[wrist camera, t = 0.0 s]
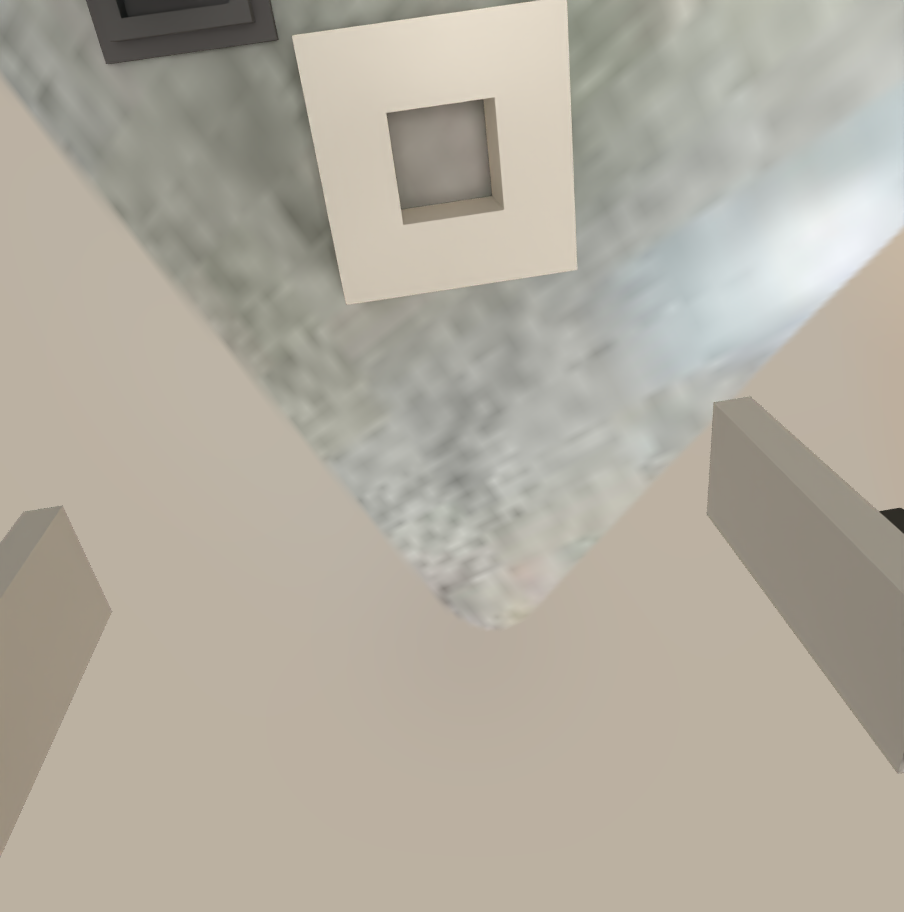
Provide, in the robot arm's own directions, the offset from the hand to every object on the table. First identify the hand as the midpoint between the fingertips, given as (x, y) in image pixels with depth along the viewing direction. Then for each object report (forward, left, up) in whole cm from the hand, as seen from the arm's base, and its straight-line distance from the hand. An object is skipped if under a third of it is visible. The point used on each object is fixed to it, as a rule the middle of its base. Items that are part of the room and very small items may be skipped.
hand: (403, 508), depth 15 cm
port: (-3, +4, -28) cm, 28 cm away
